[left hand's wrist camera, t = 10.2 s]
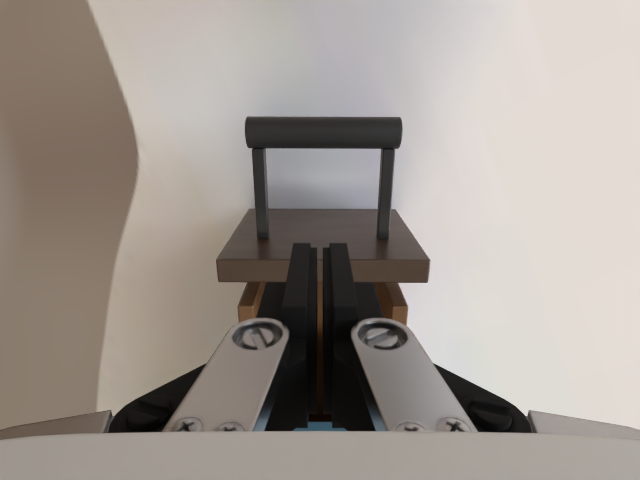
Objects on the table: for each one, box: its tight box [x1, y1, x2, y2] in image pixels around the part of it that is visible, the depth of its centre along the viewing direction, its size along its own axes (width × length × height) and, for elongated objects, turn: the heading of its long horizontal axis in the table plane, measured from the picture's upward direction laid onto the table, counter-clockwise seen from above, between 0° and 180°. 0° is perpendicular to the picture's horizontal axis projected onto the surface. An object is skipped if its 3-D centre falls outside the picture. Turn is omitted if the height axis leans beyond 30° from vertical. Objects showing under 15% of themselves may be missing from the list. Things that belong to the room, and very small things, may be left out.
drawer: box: [216, 117, 430, 422], centre depth 24 cm, size 24×10×9 cm, turn 0°
